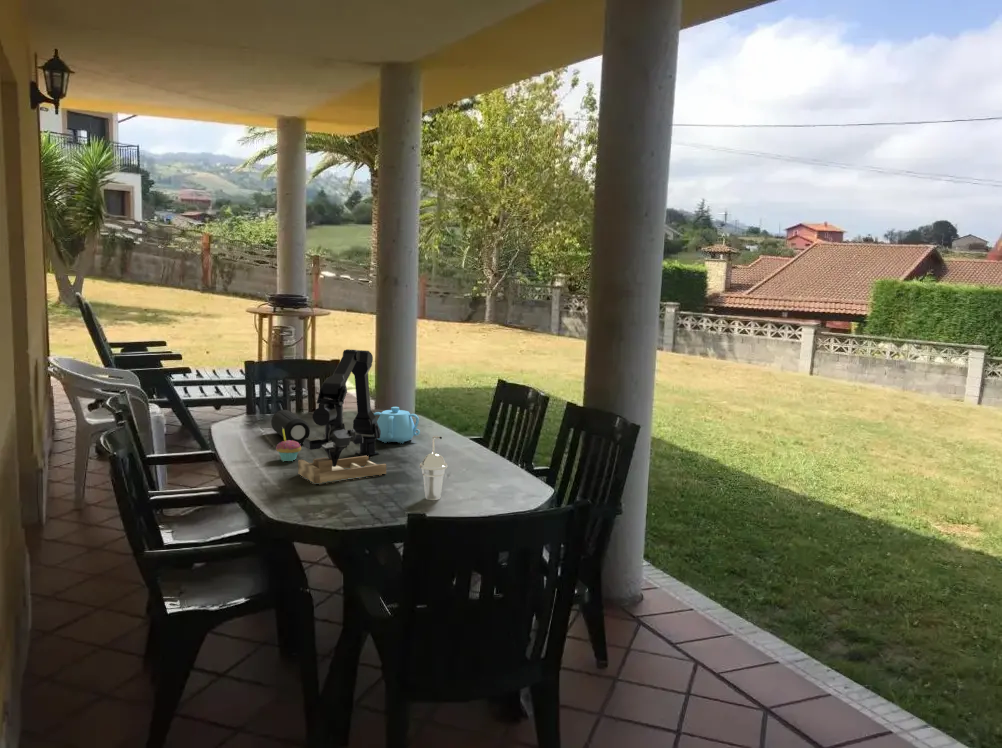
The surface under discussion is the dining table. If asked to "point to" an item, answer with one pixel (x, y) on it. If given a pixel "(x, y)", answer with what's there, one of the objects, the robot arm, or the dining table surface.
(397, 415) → the decorative pot
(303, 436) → the portable speaker
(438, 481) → the cup with straw
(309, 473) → the board
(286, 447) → the cupcake
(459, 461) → the dining table surface
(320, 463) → the walnut block
